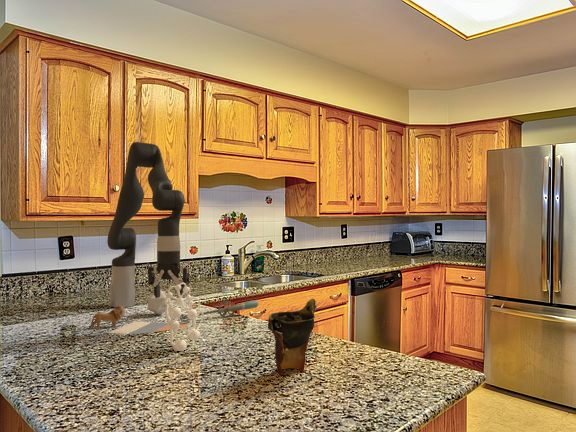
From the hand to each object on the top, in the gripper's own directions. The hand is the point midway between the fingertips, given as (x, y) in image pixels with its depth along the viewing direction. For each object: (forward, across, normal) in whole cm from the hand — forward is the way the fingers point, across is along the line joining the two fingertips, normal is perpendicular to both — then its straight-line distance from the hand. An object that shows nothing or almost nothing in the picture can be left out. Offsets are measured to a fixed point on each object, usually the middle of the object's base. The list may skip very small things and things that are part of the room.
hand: (168, 298), depth 157 cm
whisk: (+12, +10, +21) cm, 27 cm away
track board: (+11, -11, 0) cm, 15 cm away
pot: (+11, +50, -34) cm, 61 cm away
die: (+11, -15, +21) cm, 28 cm away
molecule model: (+11, +15, -20) cm, 28 cm away
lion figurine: (+11, -22, -1) cm, 25 cm away
